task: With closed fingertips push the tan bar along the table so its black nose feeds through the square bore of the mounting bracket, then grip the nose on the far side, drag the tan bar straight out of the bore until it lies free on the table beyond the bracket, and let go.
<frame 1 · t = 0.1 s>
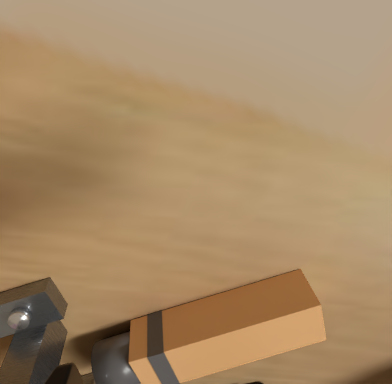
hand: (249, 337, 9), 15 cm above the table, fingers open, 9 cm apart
tan bar: (203, 316, 29), on the table
mounting bracket: (67, 356, 30), on the table
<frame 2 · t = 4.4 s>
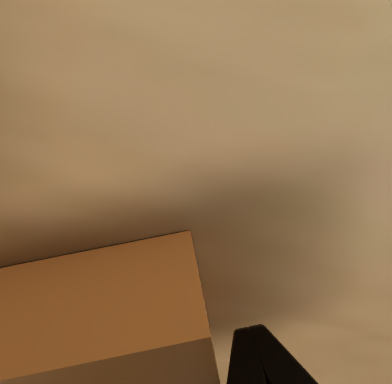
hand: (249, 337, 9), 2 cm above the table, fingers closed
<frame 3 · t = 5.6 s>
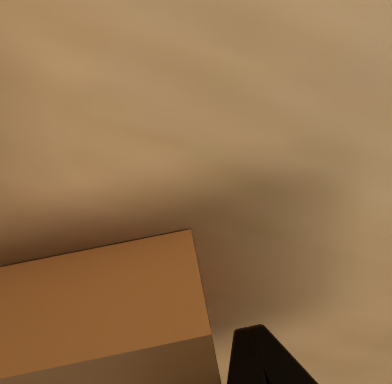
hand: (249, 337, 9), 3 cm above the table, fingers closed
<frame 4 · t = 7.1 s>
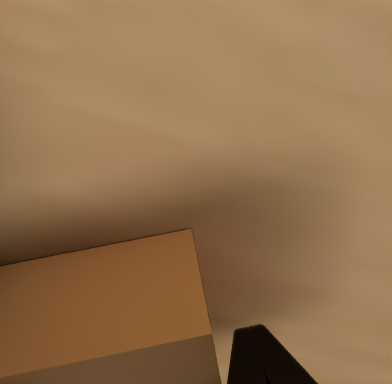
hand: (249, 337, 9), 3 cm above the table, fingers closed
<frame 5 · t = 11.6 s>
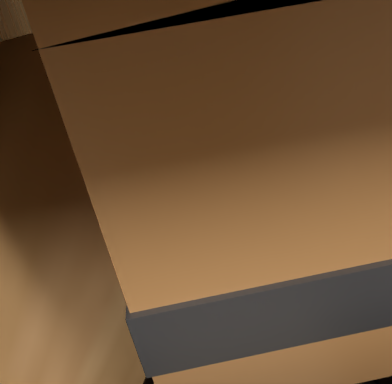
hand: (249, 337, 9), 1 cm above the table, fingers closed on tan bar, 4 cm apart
tan bar: (201, 26, 7), on the table, touching gripper
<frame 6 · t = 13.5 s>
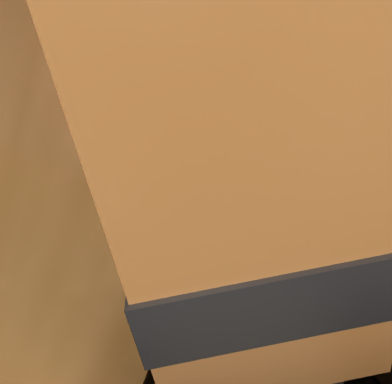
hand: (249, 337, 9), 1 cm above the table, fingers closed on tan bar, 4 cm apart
tan bar: (202, 21, 7), on the table, touching gripper
when the fingers open (1 cm above the table, at t = 15.3 s): tan bar stays where it is, on the table.
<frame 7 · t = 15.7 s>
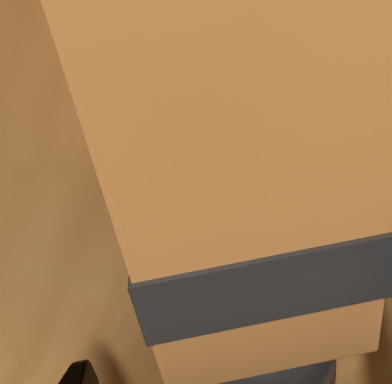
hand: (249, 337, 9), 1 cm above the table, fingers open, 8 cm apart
tan bar: (200, 20, 7), on the table
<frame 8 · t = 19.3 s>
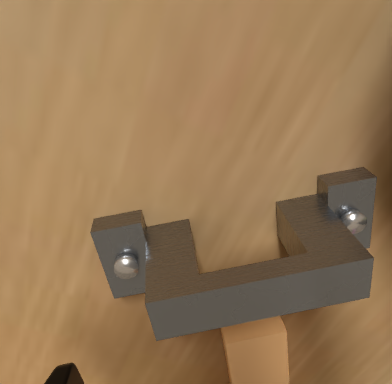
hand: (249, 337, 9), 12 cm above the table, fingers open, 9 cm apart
tan bar: (251, 369, 29), on the table
mounting bracket: (234, 227, 22), on the table
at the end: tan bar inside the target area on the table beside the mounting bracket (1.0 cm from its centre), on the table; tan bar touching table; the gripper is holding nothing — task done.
